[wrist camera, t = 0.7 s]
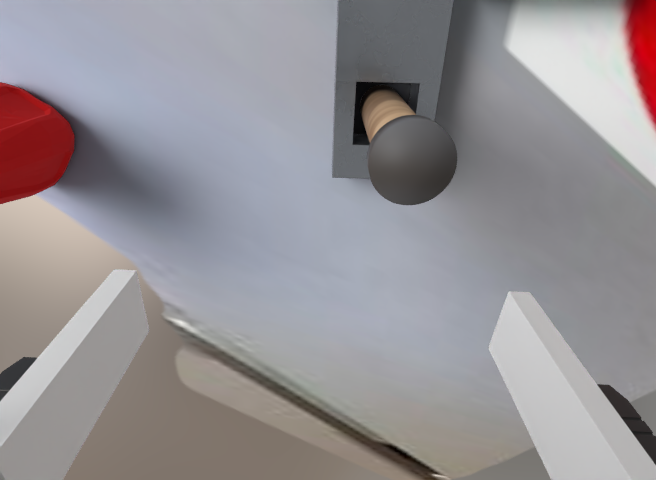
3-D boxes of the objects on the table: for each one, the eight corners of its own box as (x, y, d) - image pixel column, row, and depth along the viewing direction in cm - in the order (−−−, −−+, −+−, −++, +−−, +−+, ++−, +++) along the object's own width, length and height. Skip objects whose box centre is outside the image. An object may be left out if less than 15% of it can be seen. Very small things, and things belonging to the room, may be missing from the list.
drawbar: (342, -144, 29) (344, -166, 26) (461, -140, 29) (479, -161, 26) (332, 163, 41) (332, 177, 38) (417, 166, 41) (425, 179, 38)
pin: (355, 77, 37) (372, 119, 22) (409, 78, 37) (465, 121, 22) (352, 132, 40) (365, 204, 24) (403, 133, 40) (448, 206, 24)
